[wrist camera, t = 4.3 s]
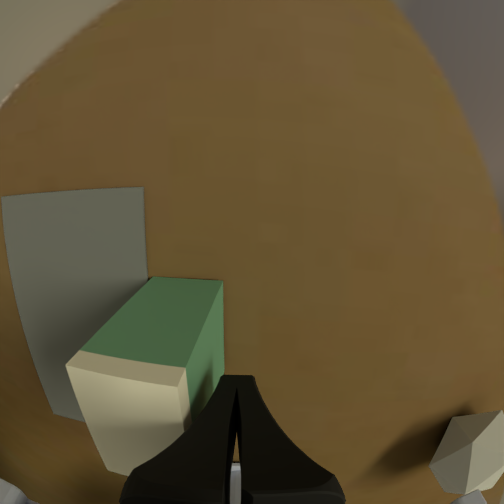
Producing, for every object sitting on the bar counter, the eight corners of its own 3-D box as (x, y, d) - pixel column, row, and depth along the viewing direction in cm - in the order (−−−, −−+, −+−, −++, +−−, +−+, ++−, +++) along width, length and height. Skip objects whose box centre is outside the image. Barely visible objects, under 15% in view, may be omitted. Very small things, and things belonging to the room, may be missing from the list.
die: (400, 451, 23) (438, 519, 17) (453, 425, 17) (498, 509, 11) (451, 411, 26) (486, 472, 20) (501, 376, 20) (542, 448, 14)
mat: (170, 434, 21) (170, 436, 20) (54, 412, 20) (53, 413, 20) (143, 186, 16) (142, 187, 16) (2, 196, 16) (1, 196, 15)
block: (224, 371, 19) (195, 490, 10) (162, 364, 19) (107, 470, 10) (223, 280, 17) (177, 387, 8) (153, 276, 17) (65, 364, 9)
